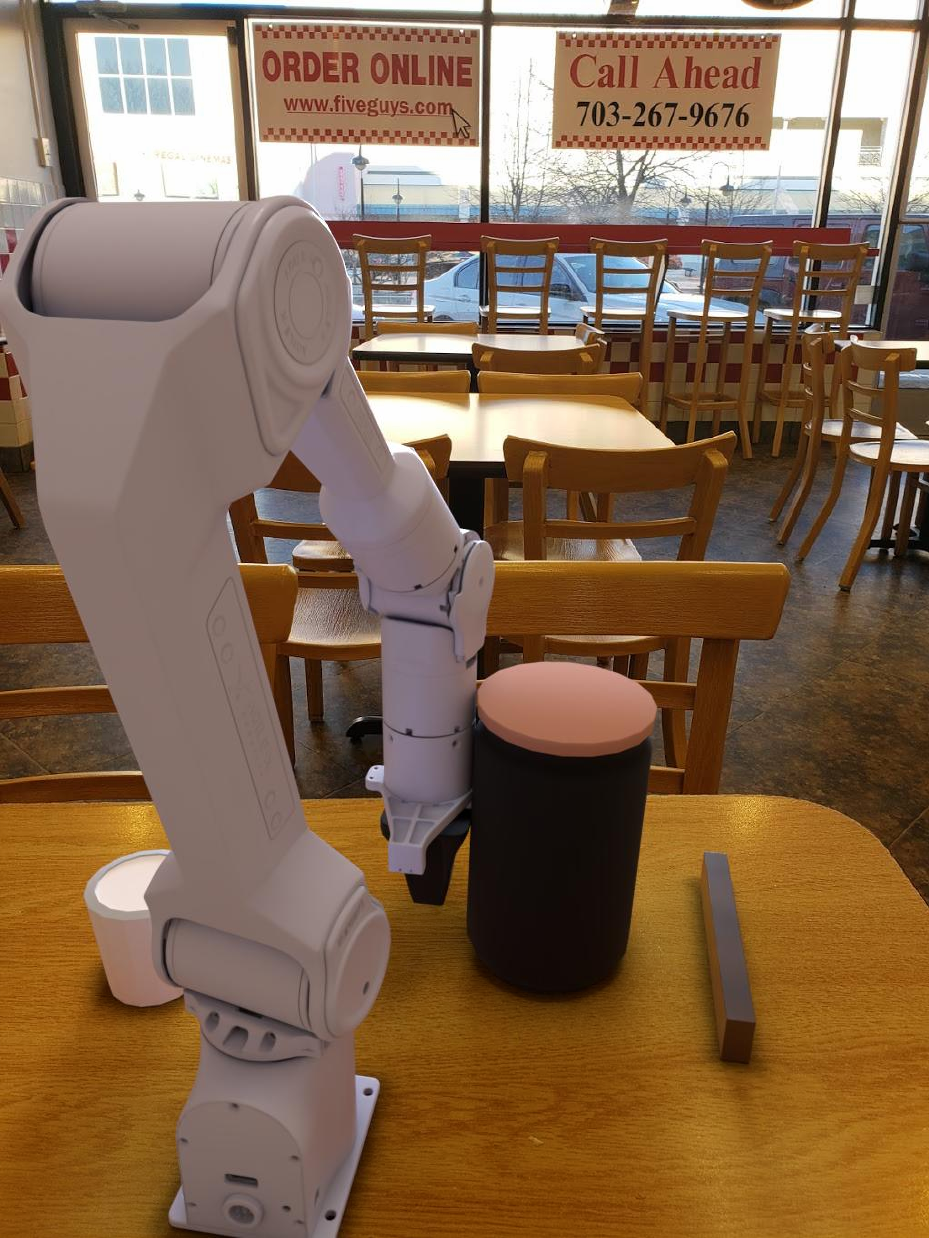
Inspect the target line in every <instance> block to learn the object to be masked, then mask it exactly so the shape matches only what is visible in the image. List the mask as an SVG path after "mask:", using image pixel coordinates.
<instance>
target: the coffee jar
mask: <svg viewBox="0 0 929 1238" xmlns="http://www.w3.org/2000/svg"><path fill="white" fill-rule="evenodd" d="M476 708H477V716H478V718H479V721H478V723H476V729H475V736H474V758H473V783H472V789H473V793H472V802H471V825H470V829H469V847H468V849H469V850H468V852H469V853H468V869H467V871H468V872H467V891H466V892H467V894H466V895H467V897H466V914H465V915H466V917H465V918H466V935H467V938H468V939H469V942H470V943H471V945H472V947H473V949H474V951H475V953H476V955H477V957H478V958H479V959H480V960H481V961H482V963H483V964H484V965H485V966H486V967H487V968H488V969H489V970H490V971H491V972H492V973H494V975H495V976H496V977H498V978H499V979H501V980H503V981H505V982H506V983H508V984H511V985H513V986H515V987H517V988H518V989H519V988H520V989H523V990H527V991H531V992H533V993H534V992H535V993H539V994H560V995H561V994H564V995H565V994H570V993H572V992H578V991H581V990H585V989H588V988H589V987H591V986H593V985H595V984H597V983H598V982H599V981H602V980H603V979H604V978H605V977H606V976H607V975H609V974H611V973H612V972H613V970H615V968H616V967H617V965H618V964H619V963H620V961H621V960H622V959H623V957H624V956H625V955H626V953H627V947H628V943H629V938H630V932H631V923H632V917H633V916H632V915H633V907H634V899H635V893H636V892H635V891H636V884H637V877H638V876H637V875H638V868H639V860H640V854H641V844H642V837H643V829H644V821H645V814H646V806H647V798H648V789H649V784H650V783H649V782H650V774H651V773H650V772H651V765H652V759H653V758H652V757H653V750H654V747H653V742H652V739H651V737H650V736H651V734H652V733H653V731H654V725H655V722H656V717H657V714H658V706H657V704H656V702H655V700H654V698H653V695H652V694H651V693H650V692H649V691H648V690H647V689H646V688H644V687H643V686H642V685H641V684H640V683H638V682H637V681H635V680H632V679H631V678H628V677H626V675H623V674H621V673H618V672H615V671H613V670H610V669H606V668H602V667H600V666H599V667H598V666H595V665H591V664H590V665H589V664H584V663H577V662H569V661H537V662H529V663H528V662H527V663H521V664H517V665H514V666H510V667H505V668H503V669H499V670H498V671H496V672H494V673H493V674H491V675H490V676H488V677H487V678H485V679H484V680H483V681H482V683H481V685H480V686H479V688H477V690H476Z"/></svg>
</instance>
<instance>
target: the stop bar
mask: <svg viewBox="0 0 929 1238" xmlns="http://www.w3.org/2000/svg"><path fill="white" fill-rule="evenodd" d="M701 863H702V864H701V872H700V879H699V880H700V881H699V892H700V901H701V910H702V916H703V926H704V935H705V942H706V950H707V958H708V959H707V960H708V965H709V966H708V968H709V974H710V982H711V990H712V998H713V999H712V1000H713V1007H714V1017H715V1025H716V1034H717V1040H718V1047H719V1048H718V1049H719V1058H720V1060H722V1061H728V1062H736V1063H744V1064H750V1062H751V1055H752V1049H753V1044H754V1037H755V1031H756V1025H757V1021H756V1015H755V1009H754V1003H753V997H752V992H751V987H750V986H751V985H750V980H749V974H748V969H747V963H746V962H747V961H746V956H745V952H744V946H743V939H742V934H741V928H740V924H739V923H740V922H739V917H738V911H737V905H736V898H735V893H734V887H733V881H732V875H731V870H730V864H729V858H728V854H727V853H725V852H724V853H723V852H716V851H715V852H714V851H703V857H702V862H701Z"/></svg>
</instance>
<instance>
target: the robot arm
mask: <svg viewBox="0 0 929 1238" xmlns="http://www.w3.org/2000/svg"><path fill="white" fill-rule="evenodd" d="M353 303H354V297H353V282H352V280H351V278H350V276H349V275H348V273H347V269H346V265H345V261H344V258H343V254H342V252H341V249H340V247H339V245H338V243H337V241H336V239H335V237H334V235H333V234H332V231H331V230H330V228H329V226H328V224H327V223H326V221H325V219H324V218H323V217H322V215H321V214H320V213H319V212H318V210H317V209H316V208H315V207H314V206H313V205H312V204H310V202H307V201H306V200H305V199H303V198H302V197H301V198H300V197H298V196H293V195H290V194H280V195H279V194H277V195H273V196H267V197H261V198H260V199H259V200H229V201H228V200H215V201H214V200H211V201H209V200H207V201H205V200H204V201H203V200H202V201H201V200H200V201H198V200H197V201H194V200H193V201H98V200H95V199H91V198H88V197H85V196H84V197H79V196H78V197H63V198H58V199H55V200H52V201H50V202H49V203H47V204H44V205H43V206H42V207H40V208H39V209H38V210H37V211H36V212H35V213H33V215H31V217H30V218H29V220H28V221H27V222H26V224H25V226H24V228H23V230H22V232H21V233H20V236H19V238H18V240H17V243H16V245H15V247H14V249H13V251H12V254H11V256H10V259H9V261H8V263H7V266H6V268H5V270H4V272H3V274H2V277H1V279H0V326H1V329H2V332H3V334H4V337H5V340H6V342H7V345H8V347H9V348H8V349H9V350H10V354H11V356H12V358H13V361H14V363H15V364H14V365H15V367H16V369H17V373H18V374H19V377H20V380H21V383H22V385H23V388H24V391H25V393H26V396H27V398H28V399H27V400H28V402H29V404H30V411H31V424H32V438H33V439H32V440H33V453H34V454H33V455H34V470H35V482H36V483H35V484H36V496H37V504H38V508H39V512H40V515H41V518H42V523H43V526H44V530H45V532H46V535H47V537H48V539H49V543H50V544H51V547H52V550H53V552H54V555H55V557H56V560H57V563H58V564H59V567H60V570H61V572H62V575H63V577H64V580H65V582H66V585H67V588H68V591H69V593H70V595H71V597H72V600H73V603H74V606H75V608H76V610H77V613H78V616H79V617H80V621H81V623H82V625H83V628H84V630H85V633H86V635H87V636H86V637H87V638H88V640H89V643H90V646H91V648H92V651H93V654H94V656H95V658H96V661H97V663H98V666H99V668H100V671H101V674H102V676H103V679H104V681H105V684H106V686H107V689H108V691H109V694H110V696H111V699H112V701H113V705H114V706H115V709H116V711H117V715H118V717H119V719H120V721H121V724H122V727H123V729H124V732H125V734H126V737H127V739H128V741H129V742H128V743H129V745H130V747H131V749H132V753H133V754H134V757H135V759H136V762H137V765H138V768H139V770H140V772H141V775H142V778H143V780H144V782H145V785H146V787H147V789H148V792H149V795H150V798H151V800H152V802H153V805H154V808H155V811H156V813H157V815H158V818H159V821H160V823H161V826H162V828H163V830H164V833H165V835H166V837H167V840H168V843H169V846H170V848H171V851H170V852H169V854H168V855H167V856H166V858H165V859H164V860H163V862H162V863H161V864H160V866H159V867H158V869H157V871H156V872H155V874H154V876H153V878H152V880H151V882H150V884H149V886H148V888H147V890H146V891H145V893H144V900H145V902H146V904H147V907H148V909H149V912H150V916H151V921H152V939H151V944H152V948H151V951H152V961H153V965H154V969H155V971H156V974H157V976H158V977H159V978H160V979H161V980H162V981H163V982H164V983H166V984H168V985H170V986H173V987H177V988H184V990H183V992H184V994H183V1001H184V1008H185V1011H186V1012H188V1013H189V1014H191V1015H193V1016H194V1017H195V1018H196V1019H197V1020H198V1023H199V1031H200V1032H199V1033H200V1052H199V1063H198V1067H197V1072H196V1075H195V1078H194V1083H193V1086H192V1088H191V1090H190V1093H189V1095H188V1097H187V1100H186V1102H185V1104H184V1106H183V1108H182V1109H181V1112H180V1114H179V1117H178V1120H177V1123H176V1128H175V1145H176V1152H177V1160H178V1167H179V1175H180V1182H181V1185H180V1188H179V1189H178V1192H177V1193H176V1196H175V1198H174V1200H173V1202H172V1204H171V1206H170V1208H169V1211H168V1214H167V1215H168V1216H167V1217H168V1221H169V1222H168V1223H169V1224H170V1225H171V1226H172V1227H174V1228H177V1229H185V1230H190V1231H196V1232H202V1233H207V1234H212V1235H213V1234H215V1235H220V1236H225V1237H231V1238H338V1234H339V1230H340V1228H341V1224H342V1220H343V1217H344V1213H345V1210H346V1208H347V1207H346V1206H347V1204H348V1200H349V1196H350V1193H351V1189H352V1187H353V1184H354V1183H353V1182H354V1179H355V1176H356V1173H357V1169H358V1166H359V1162H360V1160H361V1155H362V1153H363V1149H364V1146H365V1141H366V1138H367V1136H368V1131H369V1128H370V1125H371V1121H372V1118H373V1114H374V1111H375V1107H376V1104H377V1101H378V1097H379V1094H380V1088H381V1084H380V1081H379V1080H378V1079H377V1078H376V1077H370V1076H364V1075H357V1074H356V1053H355V1050H356V1049H355V1030H356V1029H357V1028H358V1027H359V1026H361V1024H362V1023H363V1022H364V1021H365V1019H366V1018H367V1016H368V1015H369V1013H370V1011H371V1010H372V1008H373V1006H374V1004H375V1002H376V1000H377V997H378V995H379V993H380V990H381V988H382V986H383V982H384V979H385V975H386V972H387V968H388V965H389V964H388V963H389V959H390V952H391V943H392V942H391V940H392V938H391V937H392V936H391V928H390V927H391V926H390V923H389V919H388V917H387V913H386V910H385V908H384V906H383V904H382V903H381V901H380V900H379V899H377V898H376V897H373V896H372V895H371V894H370V891H369V888H368V885H367V881H366V877H365V873H364V872H363V871H362V869H360V868H359V867H358V866H357V865H355V864H354V863H353V862H352V861H350V860H349V859H348V858H346V857H345V856H344V855H343V854H341V853H340V852H339V851H337V850H336V849H335V848H334V847H332V846H331V845H330V844H328V843H327V842H326V841H324V839H322V838H320V836H318V835H317V834H316V833H315V832H313V831H312V830H311V829H310V828H309V826H308V823H307V819H306V815H305V812H304V808H303V804H302V800H301V796H300V792H299V788H298V784H297V781H296V778H295V774H294V771H293V766H292V761H291V759H290V755H289V751H288V747H287V744H286V739H285V736H284V732H283V729H282V726H281V725H282V724H281V721H280V718H279V714H278V711H277V710H278V709H277V707H276V702H275V699H274V695H273V692H272V687H271V683H270V680H269V677H268V673H267V669H266V665H265V662H264V657H263V654H262V650H261V645H260V642H259V639H258V636H257V631H256V627H255V624H254V620H253V616H252V612H251V608H250V604H249V601H248V597H247V594H246V590H245V585H244V583H243V578H242V574H241V571H240V568H239V564H238V560H237V556H236V554H235V549H234V545H233V544H234V543H233V541H232V537H231V533H230V530H229V526H228V522H227V521H228V520H227V518H228V513H229V509H230V507H231V506H232V503H234V502H236V501H238V500H240V499H242V498H245V497H246V496H248V495H250V494H253V493H255V492H257V491H259V490H261V489H263V488H265V487H267V486H269V485H270V484H271V483H272V481H273V480H274V478H275V476H276V475H277V473H278V471H279V469H280V468H281V466H282V464H283V463H284V461H285V459H286V457H287V456H288V453H289V452H290V451H291V452H292V453H293V454H294V456H295V457H296V458H297V459H298V460H299V461H300V462H301V463H302V464H303V465H304V466H305V467H306V469H307V470H308V471H309V472H310V473H311V474H312V475H313V476H314V478H315V479H316V480H318V482H320V484H321V487H320V490H319V496H318V509H319V514H320V517H321V520H322V521H323V523H324V525H325V527H326V528H327V529H328V530H329V532H330V533H331V535H333V536H334V538H335V539H336V540H337V541H338V542H339V544H340V545H341V547H342V548H343V549H344V550H345V552H346V553H347V554H348V555H349V556H350V557H351V559H352V560H353V561H352V564H353V567H354V568H353V572H354V573H355V574H356V576H357V580H358V592H359V599H360V603H361V605H362V608H363V610H364V611H367V612H369V613H370V614H372V615H380V616H381V617H383V618H382V619H380V647H381V648H380V655H381V698H382V701H381V702H382V703H381V704H382V706H381V707H382V747H383V748H382V749H383V765H379V764H377V765H373V766H371V767H370V768H369V770H368V771H367V773H366V775H365V788H366V789H367V791H372V792H379V793H380V794H381V797H382V801H383V805H384V809H383V811H382V813H381V816H380V818H379V826H380V830H381V831H380V832H381V835H382V837H383V838H384V839H385V840H386V841H387V852H388V855H387V856H388V858H387V859H388V860H387V861H388V872H390V873H391V872H393V873H400V874H404V879H405V882H406V885H407V889H408V891H409V895H410V898H411V900H412V902H413V903H414V904H418V905H428V906H435V907H436V906H437V907H443V906H444V905H445V901H446V899H447V895H448V891H449V888H450V884H451V880H452V876H453V871H454V866H455V860H456V856H457V854H458V852H459V850H460V848H461V847H462V846H463V844H464V842H465V841H466V839H467V837H468V835H469V833H470V825H471V802H472V793H473V789H472V783H473V758H474V736H475V729H476V726H477V682H478V681H477V678H478V677H477V676H478V651H479V650H481V648H483V647H484V645H485V637H486V636H487V618H488V611H489V607H490V603H491V600H492V596H493V589H494V585H495V576H496V565H495V560H494V554H493V549H492V547H491V545H490V544H489V542H487V541H485V540H481V538H480V535H479V534H478V532H476V531H474V530H471V529H463V528H460V525H459V524H458V522H457V520H456V519H455V517H454V515H453V514H452V512H451V510H450V508H449V506H448V505H447V503H446V501H445V500H444V499H445V498H444V497H443V495H442V494H441V492H440V490H439V489H438V487H437V485H436V483H435V481H434V480H433V477H432V476H431V474H430V472H429V470H428V469H427V467H426V465H425V463H424V462H423V460H422V459H421V457H420V456H419V455H418V453H417V452H416V450H415V448H414V447H413V446H405V445H403V444H400V443H396V442H392V441H390V442H389V441H387V440H386V438H385V436H384V433H383V431H382V429H381V427H380V424H379V422H378V419H377V418H376V416H375V413H374V410H373V409H372V406H371V404H370V401H369V400H368V397H367V395H366V393H365V391H364V389H363V386H362V384H361V382H360V380H359V378H358V375H357V373H356V370H355V368H354V367H353V364H352V362H351V360H350V357H349V353H350V347H351V339H352V331H353V318H354V317H353V313H354V306H353V305H354V304H353ZM367 1094H370V1095H367ZM329 1217H334V1218H333V1219H332V1220H328V1218H329Z"/></svg>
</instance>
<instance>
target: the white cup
mask: <svg viewBox="0 0 929 1238" xmlns="http://www.w3.org/2000/svg"><path fill="white" fill-rule="evenodd" d="M171 850H172V849H171ZM171 850H170V849H163V848H160V849H150V850H148V849H147V850H140V851H137V852H134V853H130V854H127V855H123V856H121V857H117V858H116V859H114V860H113V861H110V862H109V863H107V864H106V865H104V866H102V867H100V868H99V869H98V870H97V871H96V872H95V874H94V875H93V876H92V877H90V879H88V880H87V883H86V886H85V889H84V892H83V899H84V903H85V906H86V909H87V912H88V916H89V919H90V923H91V926H92V930H93V933H94V937H95V940H96V944H97V947H98V951H99V954H100V958H101V961H102V965H103V969H104V972H105V975H106V978H107V979H106V980H107V982H108V986H109V988H110V992H111V994H112V996H113V997H114V998H116V999H117V1000H118V1001H120V1002H121V1003H123V1004H124V1005H128V1006H129V1005H130V1006H134V1007H138V1008H139V1007H140V1008H143V1007H151V1006H152V1007H153V1006H160V1005H164V1004H166V1003H169V1002H171V1001H173V1000H175V999H179V998H180V997H181V996H184V992H183V990H184V988H177V987H173V986H170V985H168V984H166V983H164V982H163V981H162V980H161V979H160V978H159V977H158V976H157V974H156V971H155V969H154V965H153V961H152V951H151V948H152V944H151V939H152V921H151V916H150V912H149V909H148V907H147V904H146V902H145V900H144V893H145V891H146V890H147V888H148V886H149V884H150V882H151V880H152V878H153V876H154V874H155V872H156V871H157V869H158V867H159V866H160V864H161V863H162V862H163V860H164V859H165V858H166V856H167V855H168V854H169V852H170V851H171Z"/></svg>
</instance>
